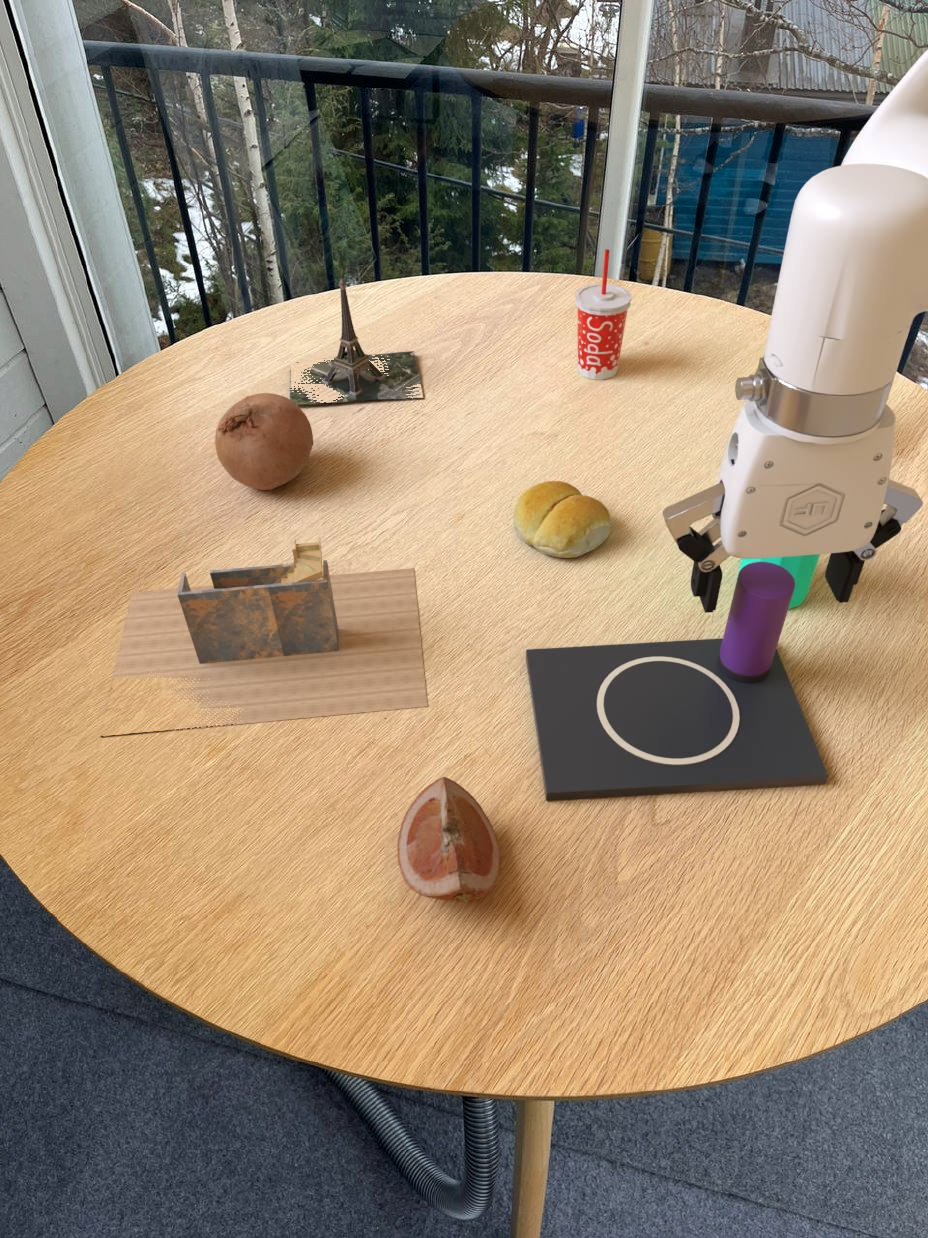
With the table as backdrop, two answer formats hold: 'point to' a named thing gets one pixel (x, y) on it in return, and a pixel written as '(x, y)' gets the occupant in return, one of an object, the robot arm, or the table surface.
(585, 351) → the beverage cup
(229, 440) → the onion
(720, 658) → the dot marker
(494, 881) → the fruit slice
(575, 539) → the bread roll
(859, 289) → the robot arm
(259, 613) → the ruin model on sheet
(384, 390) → the eiffel tower figurine
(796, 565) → the candle
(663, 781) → the sketch board
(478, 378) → the table surface
